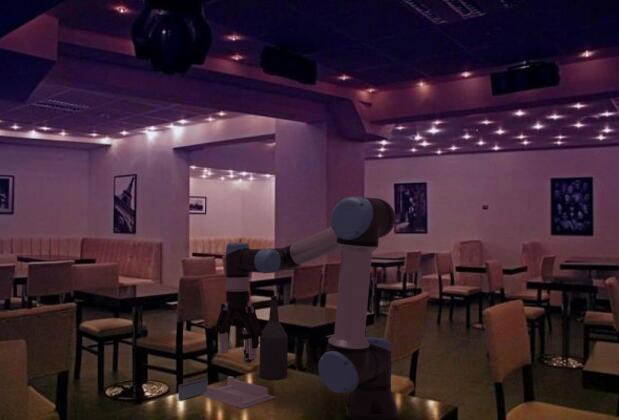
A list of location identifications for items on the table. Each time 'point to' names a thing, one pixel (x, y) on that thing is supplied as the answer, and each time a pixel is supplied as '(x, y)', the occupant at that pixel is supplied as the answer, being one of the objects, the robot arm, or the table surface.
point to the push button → (246, 345)
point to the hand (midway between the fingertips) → (238, 355)
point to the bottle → (273, 347)
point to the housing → (238, 393)
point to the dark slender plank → (192, 388)
